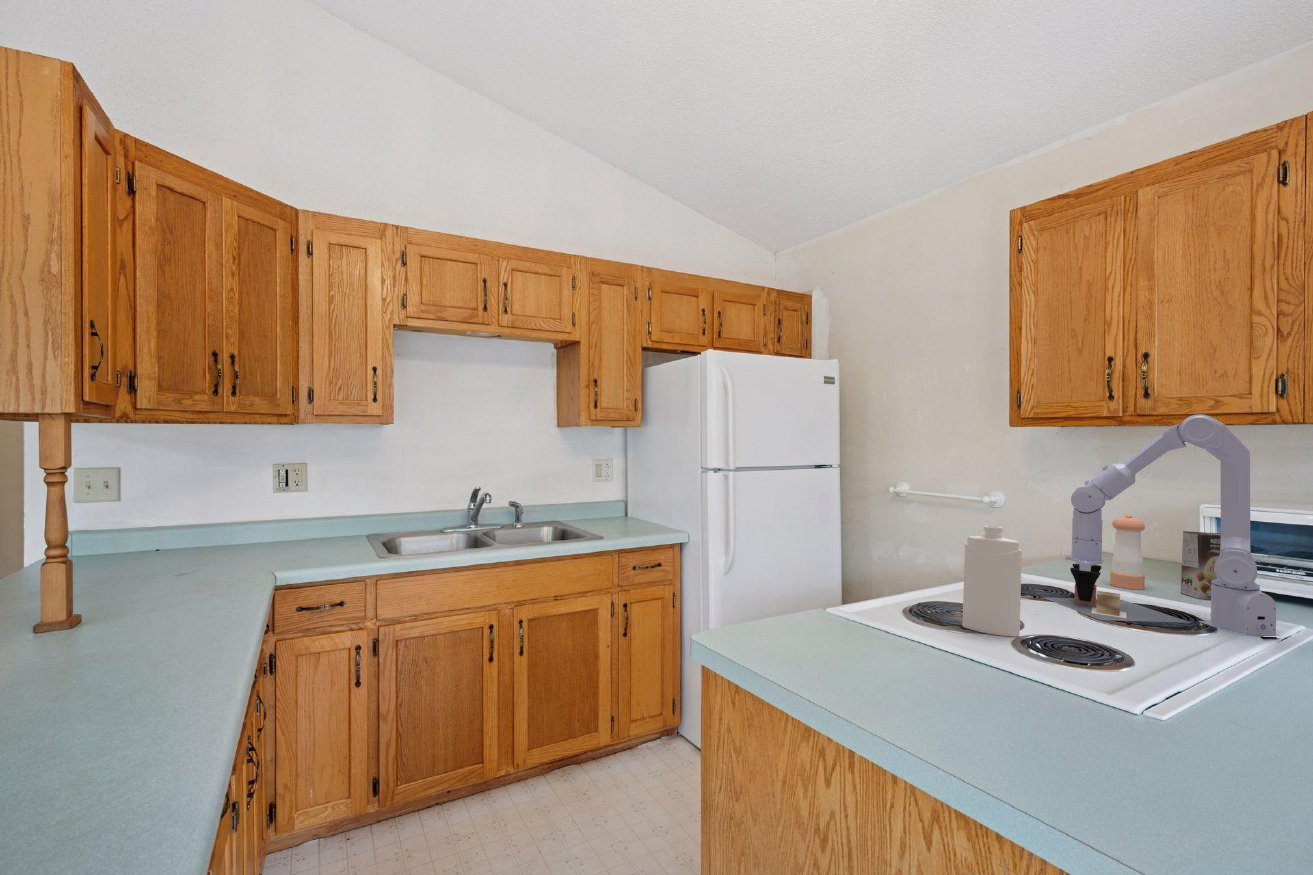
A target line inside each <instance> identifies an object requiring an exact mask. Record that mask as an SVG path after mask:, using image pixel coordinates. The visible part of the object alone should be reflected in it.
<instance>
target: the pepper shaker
mask: <svg viewBox="0 0 1313 875" xmlns="http://www.w3.org/2000/svg"><path fill="white" fill-rule="evenodd" d="M1111 525H1112V527H1113V528H1114V529H1115V538H1114V539H1115V540H1114V542H1115V544H1114V549H1113V554H1112V556H1111V557H1112V558H1111V563H1112V567H1111V571H1110V573H1109V574H1110V577H1109V578H1110V580H1109V585H1110V586H1112V587H1117V588H1120V589H1127V590H1138V591H1139V590H1141V591H1142V590H1145V581H1146V580H1145V578H1146V577H1145V575H1144V574H1143V573H1144V558H1143V552H1142V551H1143V550H1142V531H1144V530H1145V528H1146V524H1145V523H1144V521H1143V520H1140V519H1139V518H1133V515H1131V514H1125V515H1124V517H1117V518H1115V519H1113V521H1112V524H1111Z"/></svg>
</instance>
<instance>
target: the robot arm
mask: <svg viewBox="0 0 1313 875" xmlns="http://www.w3.org/2000/svg"><path fill="white" fill-rule="evenodd" d="M1186 443H1187V444H1190V445H1193V446H1195V447H1198V448H1201V449H1203V450H1205V451H1206V452H1207V453H1209V454H1211V455H1212V456H1213V457H1214V458H1216V459H1218V460H1219V462H1220V533H1221V546H1220V555H1219V556H1218V557H1217V559H1216V563H1215V565H1214V572H1215V575H1216V576H1217V579H1215V580H1212V583H1211V600H1210V621H1206V620H1205V621H1203V620H1198V622H1199V623H1201V624H1205V625H1208V626H1211V627H1214V628H1218V629H1220V630H1223V631H1227V632H1230V633H1232V634H1235V635H1239V636H1254V637H1255V636H1256V637H1257V636H1258V637H1260V636H1280V635H1278V634H1277V604H1276V602H1275V599H1274V598H1273V597H1272V596H1270V595H1268V594H1267V593H1264V592H1263V591H1262V590H1260V589H1261V586H1260V585H1259V584H1257V583H1256V582H1255V581H1256V580H1257V578H1258V570H1257V569H1258V566H1257V563H1256V561H1255V559H1254V558H1253V557H1252V555H1251V452H1250V450H1249V449H1248V448H1247V446H1246V445H1245V444H1244V443H1243V442H1242V441H1241V440H1240V439H1239V438H1238V436H1236V434H1234V433H1233V432H1232V431H1231V429H1230V428H1229V427H1227V425H1226V424H1225V423H1223V422H1221V421H1219V420H1217V419H1216V418H1213V417H1212V416H1210V415H1207V414H1193V415H1191V416H1190V415H1189V416H1188V417H1186V418H1185V419H1184V420H1182V422H1181V423H1177V424H1175V425H1173V426H1171V427H1170V428H1168V429H1167V430H1165V431H1163V432H1161V433H1160V434H1159V435H1158V436H1156V437H1155V438H1154V439H1153V440H1151V441H1150V442H1149V443H1148V444H1146V445H1145V446H1144V447H1143V448H1142V449H1140V450H1139V451H1138V452H1136V453H1135V454H1134V455H1133V456H1131V457H1130V458H1129V459H1127V460H1126V461H1125V462H1124V463H1112V464H1110V465H1107V464H1106V465H1105V466H1103V467H1102V468H1101V470H1102V471H1101V472H1099V474H1097V475H1096V476H1095V477H1093V478H1091V480H1089V479H1087V480H1086V481H1084V482H1083V483H1084V485H1085V486H1080V487H1077V488H1076V489H1075V491H1074V492H1072V494H1071V496H1070V497H1071V498H1070V503H1071V505H1072V506H1073V511H1072V520H1071V522H1072V523H1071V524H1072V525H1071V527H1072V528H1071V555H1065V560H1070V561H1071V562H1074V563H1072V565H1071V566H1072V567H1070V572H1071V575H1072V576H1073V577H1072V578H1073V580H1074V581H1075V583H1076V587H1077V593H1078V598H1079V600H1080V601H1087V602H1090V601H1091V598H1092V594H1093V590H1094V586H1095V585H1096V582H1097V581H1098V578H1099V577H1100V575H1101V570H1102V564H1103V562H1104V560H1103V559H1102V557H1103V556H1102V555H1103V520H1102V519H1103V518H1102V515H1103V514H1102V513H1103V512H1102V511H1103V510H1102V509H1103V508H1104V507H1105V505H1106V501H1112V500H1113V499H1114V498H1116V497H1117V496H1119V495H1120V494H1121V493H1123V492H1124V491H1125V490H1127V489H1128V488H1129V487H1131V486H1133V485H1134V484H1135V483H1136V475H1137V474H1138V473H1139V472H1140V471H1142V470H1144V469H1145V468H1146V467H1147V466H1149V465H1151V464H1152V463H1154V462H1155V461H1157V460H1158V459H1159V458H1161V457H1162V456H1163V455H1165V454H1166V453H1168V452H1170V451H1174V450H1178V449H1183V448H1187V447H1188V446H1187V445H1186Z"/></svg>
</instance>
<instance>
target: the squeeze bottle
mask: <svg viewBox="0 0 1313 875" xmlns="http://www.w3.org/2000/svg"><path fill="white" fill-rule="evenodd" d="M983 532H984V534H983V535H969V536H967V541H966V542H967V543H965V544H964V557H963V558H964V560H963V561H964V563H963V567H964V568H963V593H962V594H963V600H962V625H961V626H962V627H963V628H965V629H968V630H971V631H974V632H977V633H978V632H979V633H983V634H988V635H993V636H994V635H995V636H1002V637H1010V638H1017V637H1019V636H1020V632H1021V631H1020V630H1021V627H1020V626H1021V598H1022V596H1021V595H1022V594H1021V593H1022V592H1021V590H1022V560H1023V558H1022V553H1023V550H1022V549H1021V548H1020V542H1019V541H1018V540H1014V539H1010V538H1006V537H1003V535H1002V534H1003V533H1004V527H1001V526H998V525H996V526H995V525H983Z"/></svg>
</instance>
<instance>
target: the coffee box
mask: <svg viewBox="0 0 1313 875" xmlns="http://www.w3.org/2000/svg"><path fill="white" fill-rule="evenodd" d="M1181 546H1182V547H1181V548H1182V550H1181V552H1182V553H1181V571H1180V572H1181V573H1180V574H1181V577H1180V594H1183V595H1186V596H1188V597H1192V598H1195V599H1197V600H1198V599H1199V600H1210V601H1211V583H1212V580H1215V579H1217V576H1216V575H1215V572H1214V565H1215V563H1216V559H1217V557H1218V556H1219V555H1220V546H1221V532H1220V533H1219V532H1206V531H1205V532H1204V531H1203V532H1202V531H1187V530H1184V531H1182V545H1181Z"/></svg>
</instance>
